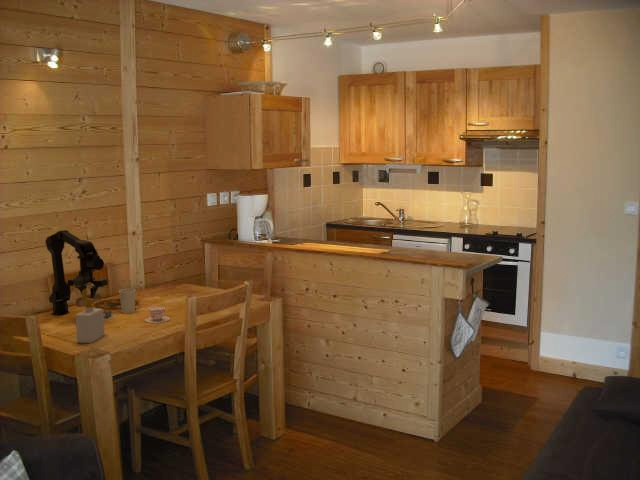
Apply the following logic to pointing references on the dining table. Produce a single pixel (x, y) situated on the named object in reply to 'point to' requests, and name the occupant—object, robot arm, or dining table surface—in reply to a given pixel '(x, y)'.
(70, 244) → the robot arm
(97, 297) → the rail
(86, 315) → the soap bottle
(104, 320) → the board
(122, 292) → the cup
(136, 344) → the dining table surface
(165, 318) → the teacup
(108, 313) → the bracket far
